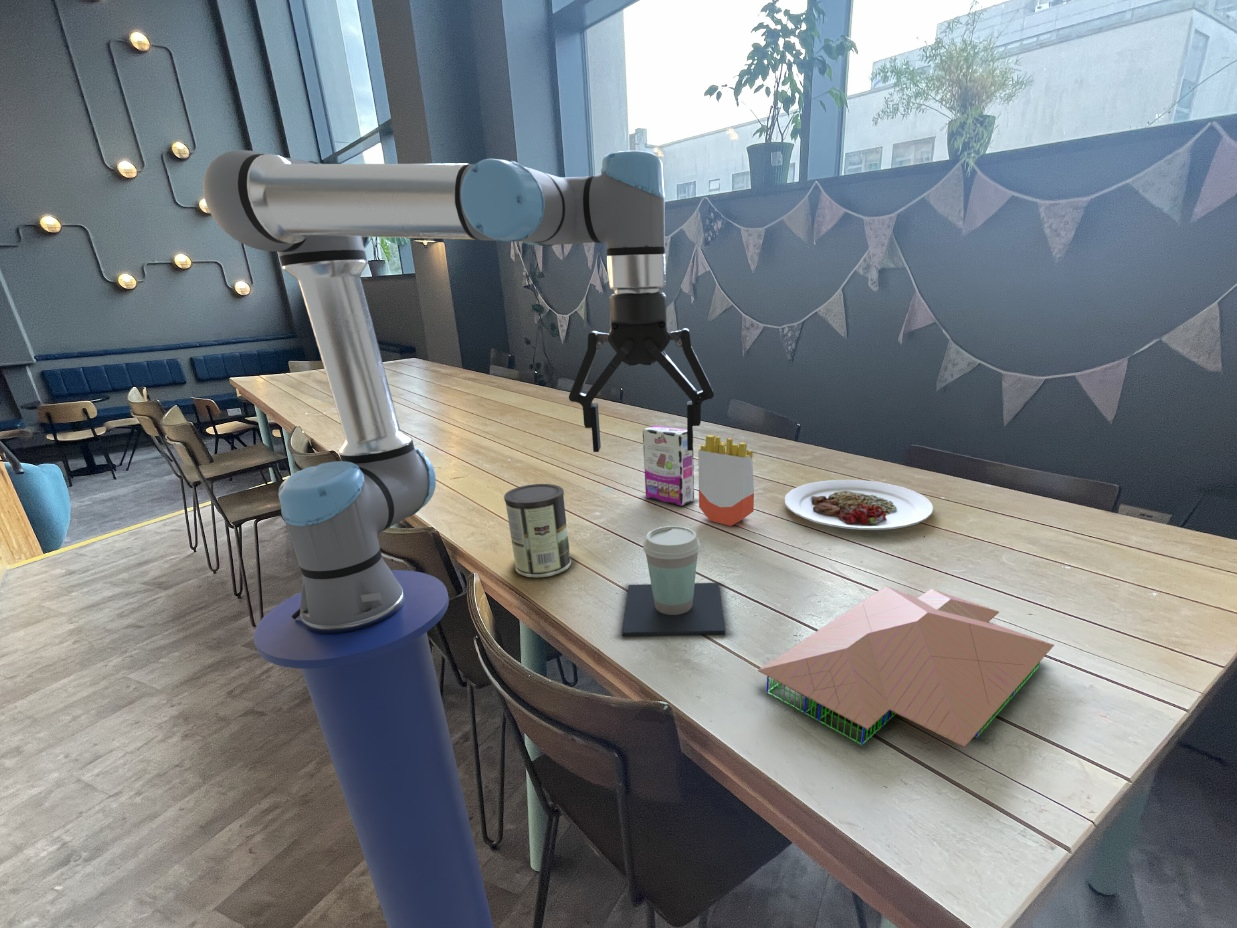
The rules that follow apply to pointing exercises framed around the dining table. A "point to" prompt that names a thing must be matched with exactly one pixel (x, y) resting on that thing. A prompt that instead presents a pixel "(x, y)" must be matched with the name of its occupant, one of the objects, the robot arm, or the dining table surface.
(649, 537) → the coffee cup
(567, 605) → the dining table surface
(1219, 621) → the dining table surface
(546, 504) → the coffee can
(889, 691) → the house
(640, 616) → the mat
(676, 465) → the candy bar box
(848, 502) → the plated food
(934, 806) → the dining table surface
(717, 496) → the french fries container
